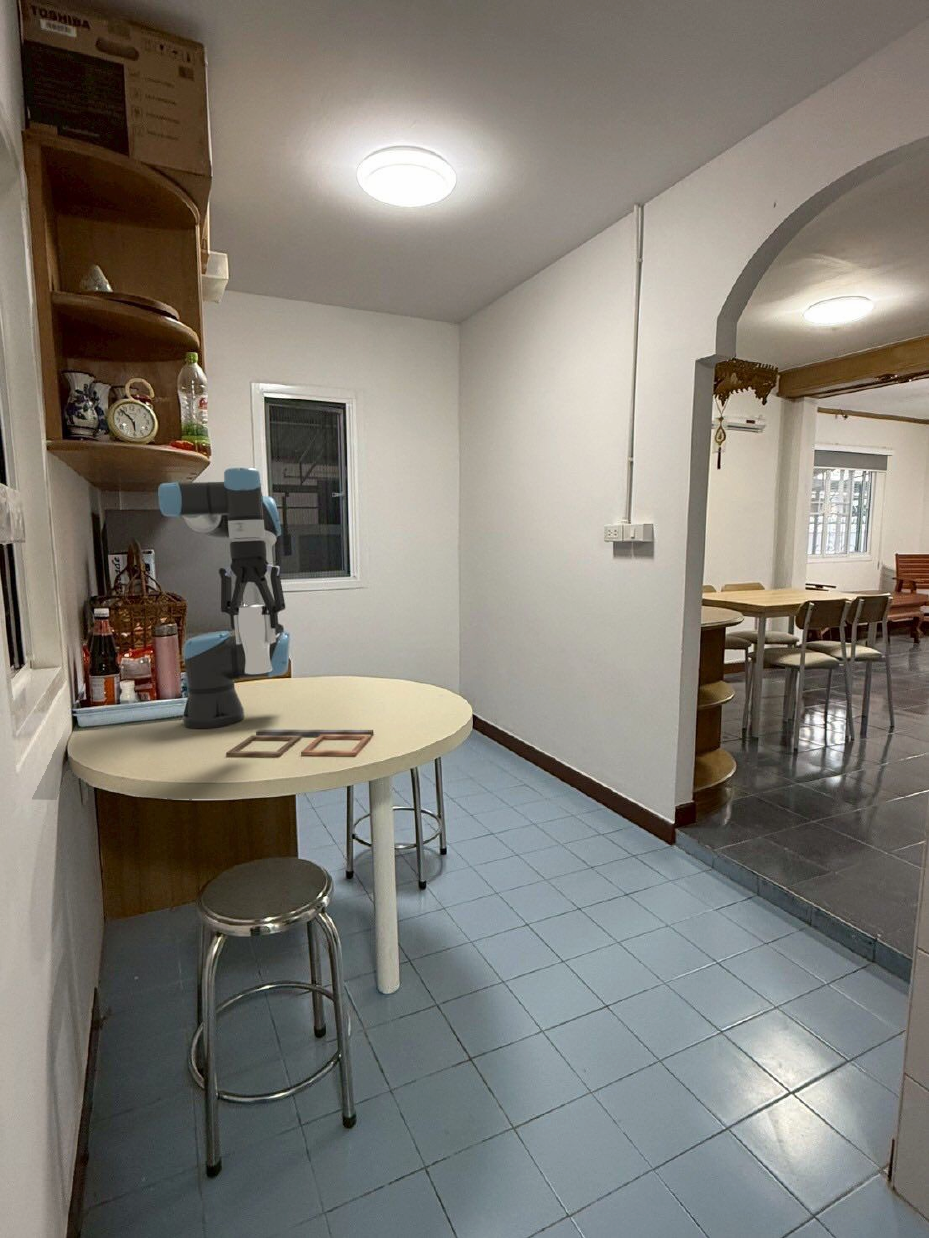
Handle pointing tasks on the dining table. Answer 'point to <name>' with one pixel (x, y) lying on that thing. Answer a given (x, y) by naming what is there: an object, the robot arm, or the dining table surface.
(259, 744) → the dining table surface
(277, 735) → the double square frame
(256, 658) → the beer glass
